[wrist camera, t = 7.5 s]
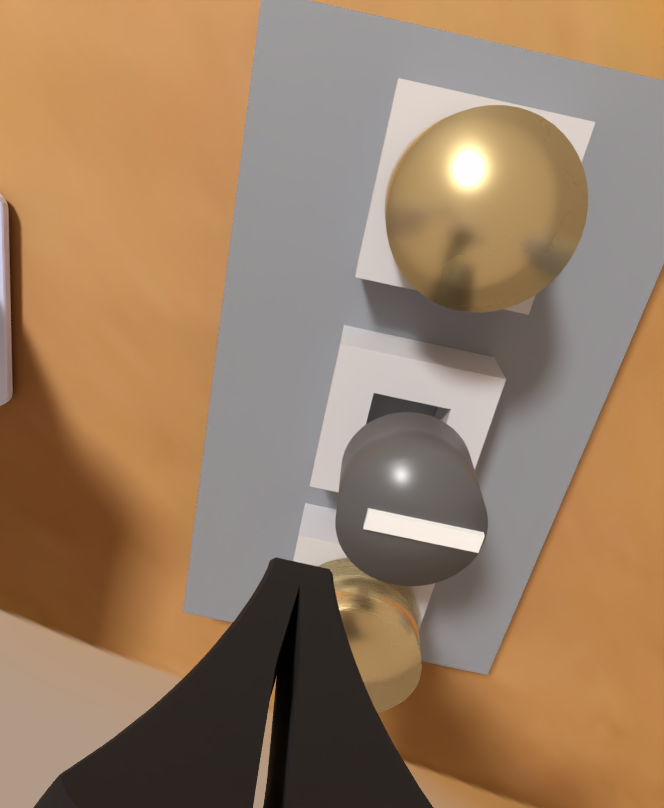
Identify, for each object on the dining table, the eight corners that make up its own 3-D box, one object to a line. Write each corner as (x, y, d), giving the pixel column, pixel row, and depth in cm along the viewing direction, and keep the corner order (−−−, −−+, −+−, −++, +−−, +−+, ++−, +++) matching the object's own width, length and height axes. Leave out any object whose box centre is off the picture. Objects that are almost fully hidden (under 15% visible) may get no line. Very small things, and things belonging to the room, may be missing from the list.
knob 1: (291, 602, 24) (273, 700, 20) (311, 512, 22) (296, 599, 18) (397, 624, 24) (402, 726, 20) (426, 537, 22) (438, 629, 18)
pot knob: (334, 475, 19) (321, 573, 15) (358, 372, 18) (352, 448, 13) (444, 498, 19) (463, 603, 15) (477, 398, 18) (510, 481, 13)
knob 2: (368, 257, 18) (366, 290, 14) (404, 99, 16) (413, 83, 12) (508, 287, 18) (547, 329, 14) (558, 133, 17) (620, 129, 12)
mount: (196, 579, 26) (167, 649, 23) (274, 5, 18) (247, -31, 14) (479, 638, 27) (496, 716, 23) (698, 101, 18) (782, 90, 14)
